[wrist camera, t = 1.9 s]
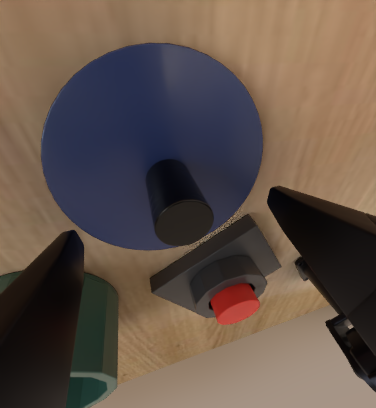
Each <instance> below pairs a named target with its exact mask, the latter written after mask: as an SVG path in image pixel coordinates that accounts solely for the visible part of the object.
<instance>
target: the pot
mask: <svg viewBox="0 0 376 408" xmlns="http://www.w3.org/2000/svg"><path fill="white" fill-rule="evenodd" d="M22 272H23V271H21V272H16V273H10V274H7V275H3V276H0V293H1V292H2V291H3V290H4V289H5V288H7V287H8V286H9V285H10V284H11V283H12V282H13V281H14V280H15V279H16V278H17V277H18V276H19V275H20V274H21V273H22ZM117 369H118V294H117V292H116V290H115V289H114V288H113V287H112V286H111V285H110V284H109V283H108V282H106V281H105V280H103V279H101V278H99V277H96V276H93V275H91V274H87V273H84V280H83V289H82V296H81V303H80V310H79V317H78V324H77V331H76V338H75V345H74V352H73V359H72V367H71V374H70V381H69V388H68V395H67V402H66V408H90V407H91V406H93V405H95V404H97V403H99V402H100V401H102V400H104V399H105V398H107V397H108V396H109V395H110V394H111V393H112V392H113V391H114V390H115V389H116V388H117Z"/></svg>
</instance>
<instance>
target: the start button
mask: <svg viewBox="0 0 376 408" xmlns="http://www.w3.org/2000/svg"><path fill="white" fill-rule="evenodd" d="M210 302H211V305H212V308H213V311H214V313H215V316H216V319H217V322H218V323H219V324H223V325H227V324H233V323H236V322H239V321H241V320H244V319H245V318H247V317H249V316H251V315H252V314H253V313H254V312H256V311H257V309H258V308H259V306H260V302H259V300H258V298H257V297H256V295H255V293H254V291H253V290H252V288H251V286H250V284H249V283H240V284H236V285H233V286H230V287H227V288H225V289H224V290H222V291H220V292H219V293H217V294H216V295H215V296H214V297H213V298H212V299H211V300H210Z"/></svg>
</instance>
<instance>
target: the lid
mask: <svg viewBox="0 0 376 408" xmlns="http://www.w3.org/2000/svg"><path fill="white" fill-rule="evenodd" d="M262 152H263V135H262V127H261V122H260V118H259V115H258V111H257V109H256V107H255V104H254V102H253V100H252V98H251V96H250V94H249V93H248V91H247V90H246V88H245V86H244V85H243V84H242V83H241V82H240V80H239V79H238V78H237V77H236V76H235V75H234V74H233V73H232V72H231V71H230V70H229V69H227V68H226V67H225V66H224V65H223V64H222V63H220V62H218V61H217V60H215V59H213V58H212V57H210V56H208V55H207V54H204V53H202V52H199V51H197V50H194V49H191V48H189V47H184V46H179V45H174V44H169V43H145V44H138V45H131V46H126V47H123V48H120V49H117V50H114V51H111V52H108V53H106V54H104V55H103V56H101V57H99V58H97V59H95V60H93V61H91V62H90V63H88V64H87V65H86V66H85V67H83V68H82V69H81V70H80V71H78V72H77V73H76V74H75V75H73V77H72V78H71V79H70V80H69V81H68V82H67V83H66V85H65V86H64V87H63V88H62V89H61V90H60V92H59V94H58V95H57V97H56V99H55V100H54V102H53V104H52V105H51V107H50V110H49V113H48V115H47V118H46V121H45V123H44V128H43V134H42V139H41V160H42V167H43V173H44V176H45V179H46V182H47V185H48V188H49V190H50V192H51V194H52V196H53V198H54V200H55V201H56V203H57V204H58V205H59V207H60V208H61V210H62V211H63V212H64V213H65V214H66V215H67V216H68V218H69V219H70V220H71V221H72V222H73V223H75V224H76V225H77V226H78V227H80V228H81V229H82V230H84V231H85V232H87V233H88V234H90V235H91V236H93V237H95V238H97V239H99V240H101V241H103V242H106V243H109V244H112V245H115V246H119V247H123V248H128V249H134V250H162V249H169V248H174V247H178V246H184V245H189V244H192V243H194V242H196V241H198V240H200V239H201V238H202V237H204V236H206V235H208V234H209V233H211V232H213V231H214V230H216V229H217V228H218V227H220V226H221V225H222V224H224V223H225V222H226V221H227V220H228V219H229V218H230V217H231V216H232V215H233V214H234V213H235V212H236V211H237V210H238V209H239V207H240V206H241V205H242V204H243V202H244V201H245V199H246V198H247V196H248V195H249V193H250V191H251V189H252V187H253V185H254V183H255V180H256V178H257V175H258V172H259V168H260V165H261V159H262Z"/></svg>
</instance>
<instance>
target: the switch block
mask: <svg viewBox="0 0 376 408" xmlns="http://www.w3.org/2000/svg"><path fill="white" fill-rule="evenodd" d="M279 268H281V265H280V263H279V261H278V260H277V258H276V256H275V255H274V253H273V251H272V249H271V248H270V246H269V244H268V243H267V241H266V239H265V238H264V236H263V234H262V233H261V231H260V229H259V228H258V226H257V224H256V223H255V222H254V221H253V220H252V218H251V217H250V216H249V215H246V216H245V217H243V218H242V219H240V220H239V221H237V222H235V223H234V224H232V225H231V226H229V227H228V228H226V229H225V230H223V231H222V232H220V233H219V234H217V235H216V236H214V237H213V238H211V239H210V240H208V241H206V242H205V243H203V244H202V245H200V246H199V247H197V248H196V249H194V250H193V251H191V252H190V253H188V254H187V255H185V256H184V257H182V258H181V259H179V260H178V261H176V262H174V263H173V264H171V265H170V266H168V267H167V268H165V269H164V270H162V271H161V272H159V273H158V274H156V275H155V276H153V277H152V278H150V284H151V292H152V293H153V294H155V295H157V296H159V297H162V298H164V299H166V300H168V301H171V302H173V303H175V304H177V305H180V306H182V307H184V308H186V309H189V310H191V311H193V312H196V313H197V314H199V315H201V316H203V317H206V318H211V317H216V316H215V313H214V311H213V308H212V305H211V302H210V300H211V299H212V298H213V297H214V296H215V295H216V294H217V293H219V292H220V291H222V290H224V289H225V288H227V287H230V286H233V285H236V284H240V283H249V284H250V286H251V288H252V290H253V291H254V293H255V295H256V297H257V298H258V297H259V296H260V295H261V294H262V293H263V292H264V290H265V287H266V285H267V281H266V279H265V276H267V275H269V274H270V273H272V272H274V271H275V270H277V269H279Z"/></svg>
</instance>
